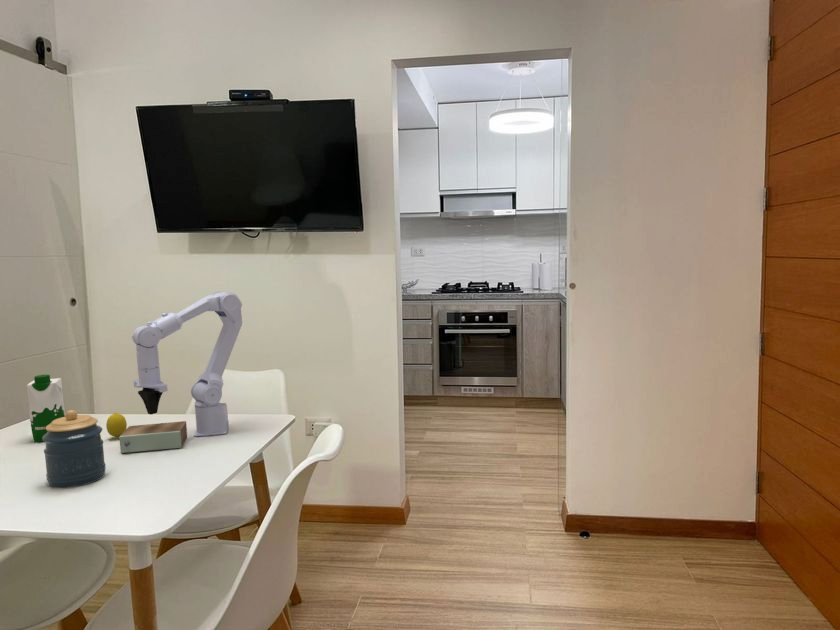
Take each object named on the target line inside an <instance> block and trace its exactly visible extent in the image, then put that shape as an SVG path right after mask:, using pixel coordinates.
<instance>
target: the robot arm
mask: <svg viewBox="0 0 840 630" xmlns="http://www.w3.org/2000/svg"><path fill="white" fill-rule="evenodd" d="M242 307H243V302H242V301H241V300H240V298H239V296H238V295H237V294H236V293H234V292H222V291H215V292H213V293H212V294H209V295H206V296H205V297H202V298H201V299H198V301H195V302H194V303H193V304H190V305H189V306H187V307H185V308H184V309H182V310H181V311H179V312H177V313H175V312H164V313H162V314H161V316H160V317H159V318H156V319H154V320H153V321H147V322H146V325H147V326H146V325H142V326H139V327H137V328H135V330H134V332H133V334H132V336H131V339H132V341H133V342H134V344H135V347H136V348H135V349H136V350H135V351H136V361H137V362H136V363H137V373H138V374H137V376H138V379H134V380H133V387H134V388H137V389H140V388H141V389H142V390H139V391H138V392H137V394H138V396H140V399H142V402H143V404H144V407H145V409H146V412H147V414H148V415H154V414H157V413H158V412H159V411H158V409H159V404H160V400H161V397H162V395H163V393H164V392H169V391H168V384H166V383H165V382H163V381H162V380H161V371H160V370H161V369H160V357H159V350H158V345H159V343H160V341H161V340H164V339H165V338H167V337H168V336H170V335H172V334H175V333H176V332H177V331H179V330H181V329H182V327H183V323H185V322H188V321H190V320H192V319H193V318H196V317H198V316H201V315H202V314H204V313H206V312H214V313H216V315H218V317H219V318H220V321H221V323H222V327H221V329H220V332H219V333H218V337H217V339H216V342H215V345H214V348H213V349H212V352H211V355H210V357H209V359H208V363H207V366H206V368H205V370H204V371H203V373H201V374H200V375H199V377H198V379H197V381H196V382H194V384H193V385H192V387H191V389H190V395H191V397H192V399H193V400H195V402H194V410H195V411H194V412H195V424H196V425H195V426H196V429H195V432H194V434H193V436H194V437H197V438H198V437H208V436H215V435H216V436H217V435H225V434H228V431H229V426H230V423H229V422H230V421H229V417H228V416H229V415H228V414H229V413H228V405H227V403H226V402H220V401H221V399H222V397H223V390H222V389H223V386H224V380H223V374H224V372H225V370H226V366H227V365H228V362H229V360H230V356H231V353H232V352H233V349H234V346H235V343H236V341H237V340H238V339H237V338H238V337H239V333H240V332H241V328H242V325H243V316H242V314H243V313H242Z"/></svg>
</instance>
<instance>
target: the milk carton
mask: <svg viewBox="0 0 840 630" xmlns="http://www.w3.org/2000/svg"><path fill="white" fill-rule="evenodd" d="M62 382H63V381H62V378H61V377H59V378H51V375H50V374H39V375H35V376H34V379H33V381H30V382H29V383H28V384H26V391H27V392H26V393H27V400H28V403H27V404H28V411H29V419H30V428H31V434H32V439H33V443H35V444H36V443H46V442H45V441H44V440H43V439H42V438H43V436H44V435H45V434H46V433H47V432H48V431H47V430H46V426H47V425H49V424H50V423H52V421H54V420H56V419H58V418H62V417H65V414H66V411H65V410H66V409H65V401H64V393H63V390H64V389H63V383H62Z"/></svg>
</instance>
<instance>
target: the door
mask: <svg viewBox="0 0 840 630" xmlns="http://www.w3.org/2000/svg"><path fill="white" fill-rule="evenodd" d="M118 440H119V451H120V453H121V454H127V453H126V452H129V453H137V451H139V452H149V451H148V450H150V451H157V450H159V449H160V450H171V449H177V448H179V449H181V448H183V446H182V444H181V431H172V432H160V433H149V434H137V435H126V436H120V437H119V438H118Z"/></svg>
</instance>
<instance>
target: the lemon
mask: <svg viewBox="0 0 840 630" xmlns="http://www.w3.org/2000/svg"><path fill="white" fill-rule="evenodd" d="M127 423H128V422H127V420H126V417H125V416H124V415H123V414H121V413H118V412H114V413H113V414H111V415H109V417H108V418H107V419H106V426H105V427H106V431H107V433H108V434H109V435H110V436H112V437H114V438H116V439H119V437H120V436H121V435H122V433H123V432H124V431H125V430H126V429H127V428H128V424H127Z"/></svg>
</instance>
